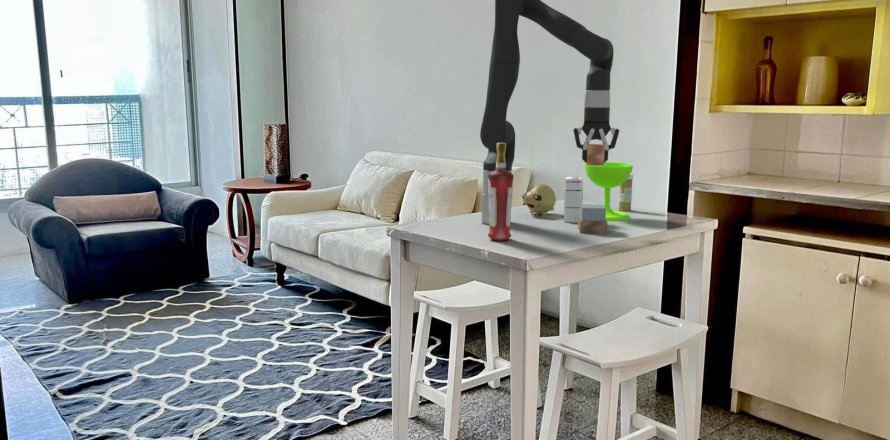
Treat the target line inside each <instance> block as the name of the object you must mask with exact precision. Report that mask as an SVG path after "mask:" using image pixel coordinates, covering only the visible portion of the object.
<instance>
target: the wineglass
mask: <svg viewBox="0 0 890 440" xmlns="http://www.w3.org/2000/svg"><path fill="white" fill-rule="evenodd" d="M633 166H634V165H633V164H632V163H631V164H630V163H625V162H613V161H609V162H608V161H606V163H604V166H603V165H586V162H584V169H585V173H586V175H587V178H589V180H590V181H591V182H592V183H593V184H594V185H596V186H598V187H600V188H603V189H604V196H603V197H604V198H603V205H604V206H605V208H606V220H607V222H620V221H619V220H623V221H628V220H630V219H631V216H630V215H629V214H628V213H627V212H625V211H620V210H612V208H611V205H610V203H611V189H613V188H616V187H620V185H621V184H623V183H624V182H625V181H626V180H627V179H628V178H629V176H630V174H632V172H633V169H634V168H633Z"/></svg>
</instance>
